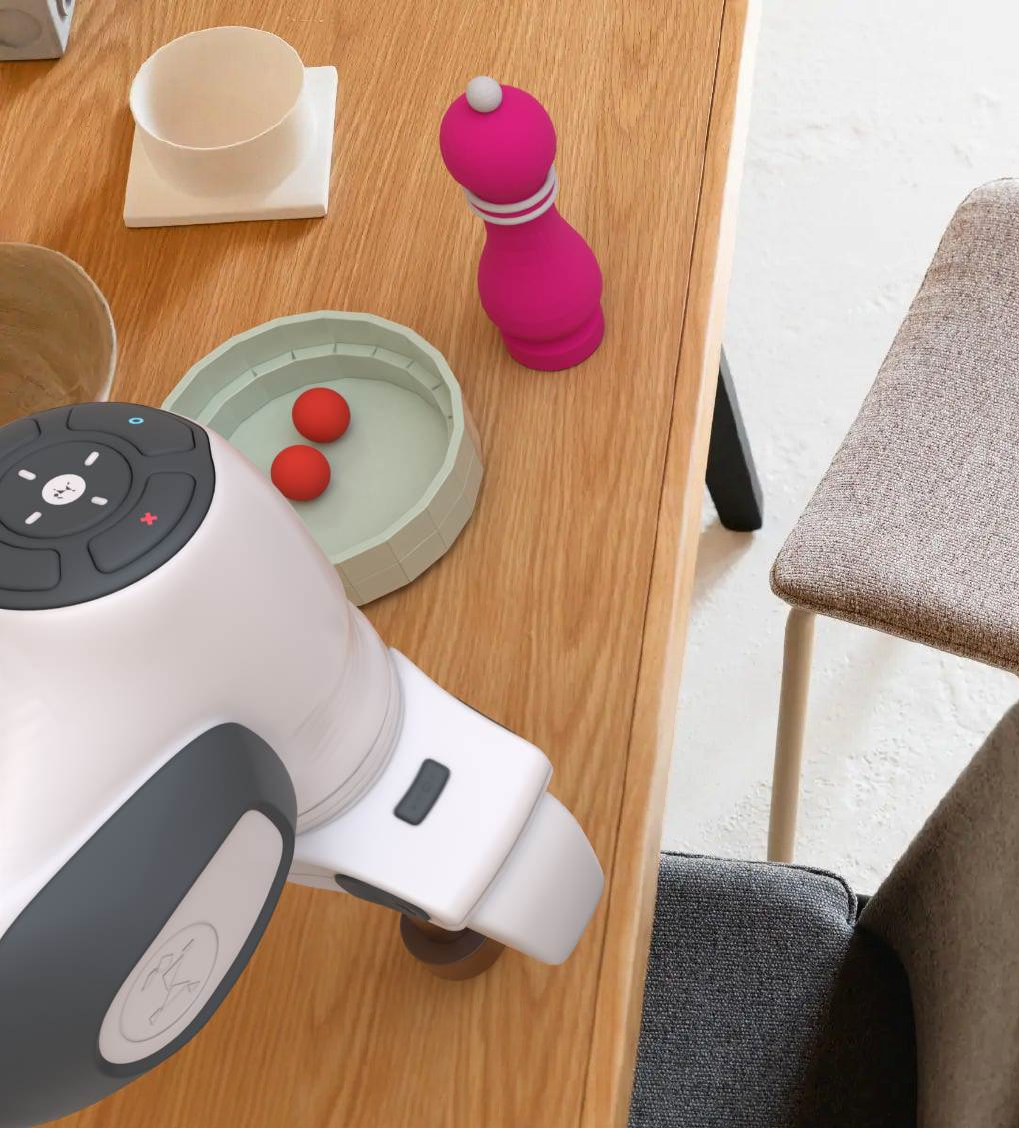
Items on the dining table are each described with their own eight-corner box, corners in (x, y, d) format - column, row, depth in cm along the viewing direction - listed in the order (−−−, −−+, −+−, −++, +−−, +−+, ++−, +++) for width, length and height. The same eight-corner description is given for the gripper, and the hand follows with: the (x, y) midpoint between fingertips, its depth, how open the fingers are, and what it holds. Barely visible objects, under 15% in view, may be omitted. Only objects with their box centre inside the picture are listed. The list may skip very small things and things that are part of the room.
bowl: (381, 664, 82) (350, 618, 77) (124, 554, 85) (79, 504, 80) (539, 424, 89) (520, 368, 84) (297, 332, 93) (265, 274, 88)
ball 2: (273, 434, 83) (309, 433, 86) (249, 483, 84) (286, 480, 87) (316, 465, 83) (351, 463, 86) (291, 514, 84) (327, 510, 87)
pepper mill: (490, 381, 91) (399, 136, 73) (500, 287, 94) (415, 32, 77) (610, 376, 91) (547, 130, 73) (615, 283, 94) (556, 27, 77)
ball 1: (358, 440, 89) (328, 457, 86) (310, 423, 89) (278, 439, 86) (364, 390, 87) (333, 406, 85) (314, 373, 88) (282, 388, 85)
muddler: (478, 996, 71) (381, 896, 57) (399, 958, 72) (284, 851, 58) (525, 912, 73) (441, 796, 59) (447, 876, 74) (347, 754, 60)
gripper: (-22, 704, 52) (148, 836, 64) (494, 943, 47) (571, 1037, 59) (93, 556, 54) (236, 711, 66) (591, 770, 50) (646, 893, 62)
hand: (397, 866), depth 63 cm, fingers closed on muddler, 2 cm apart
